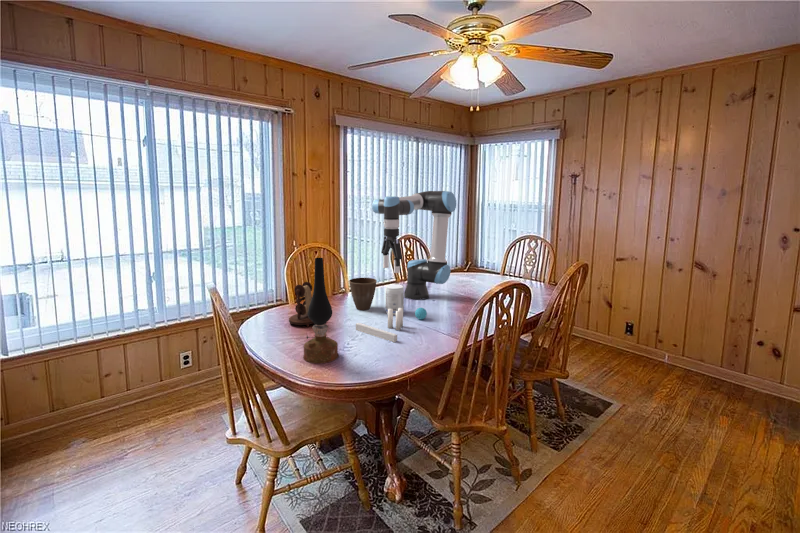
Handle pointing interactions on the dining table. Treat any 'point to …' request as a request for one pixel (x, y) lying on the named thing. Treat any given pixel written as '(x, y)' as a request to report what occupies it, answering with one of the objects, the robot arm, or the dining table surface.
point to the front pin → (401, 315)
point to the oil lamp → (320, 322)
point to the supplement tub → (394, 297)
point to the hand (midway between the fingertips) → (391, 270)
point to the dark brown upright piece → (302, 305)
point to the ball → (420, 313)
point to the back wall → (376, 332)
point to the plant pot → (363, 292)
